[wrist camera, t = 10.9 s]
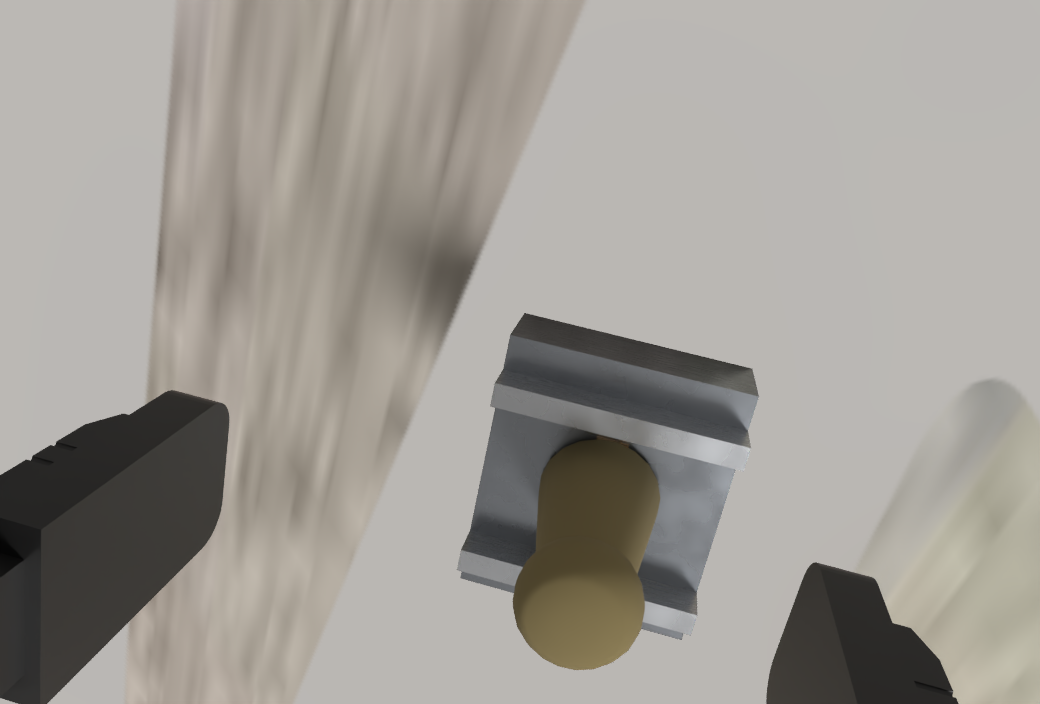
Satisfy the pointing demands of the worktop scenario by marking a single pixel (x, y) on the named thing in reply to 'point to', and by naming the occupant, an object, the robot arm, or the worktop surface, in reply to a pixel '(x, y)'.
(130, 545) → the robot arm
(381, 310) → the worktop surface
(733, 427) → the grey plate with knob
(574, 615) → the cork
